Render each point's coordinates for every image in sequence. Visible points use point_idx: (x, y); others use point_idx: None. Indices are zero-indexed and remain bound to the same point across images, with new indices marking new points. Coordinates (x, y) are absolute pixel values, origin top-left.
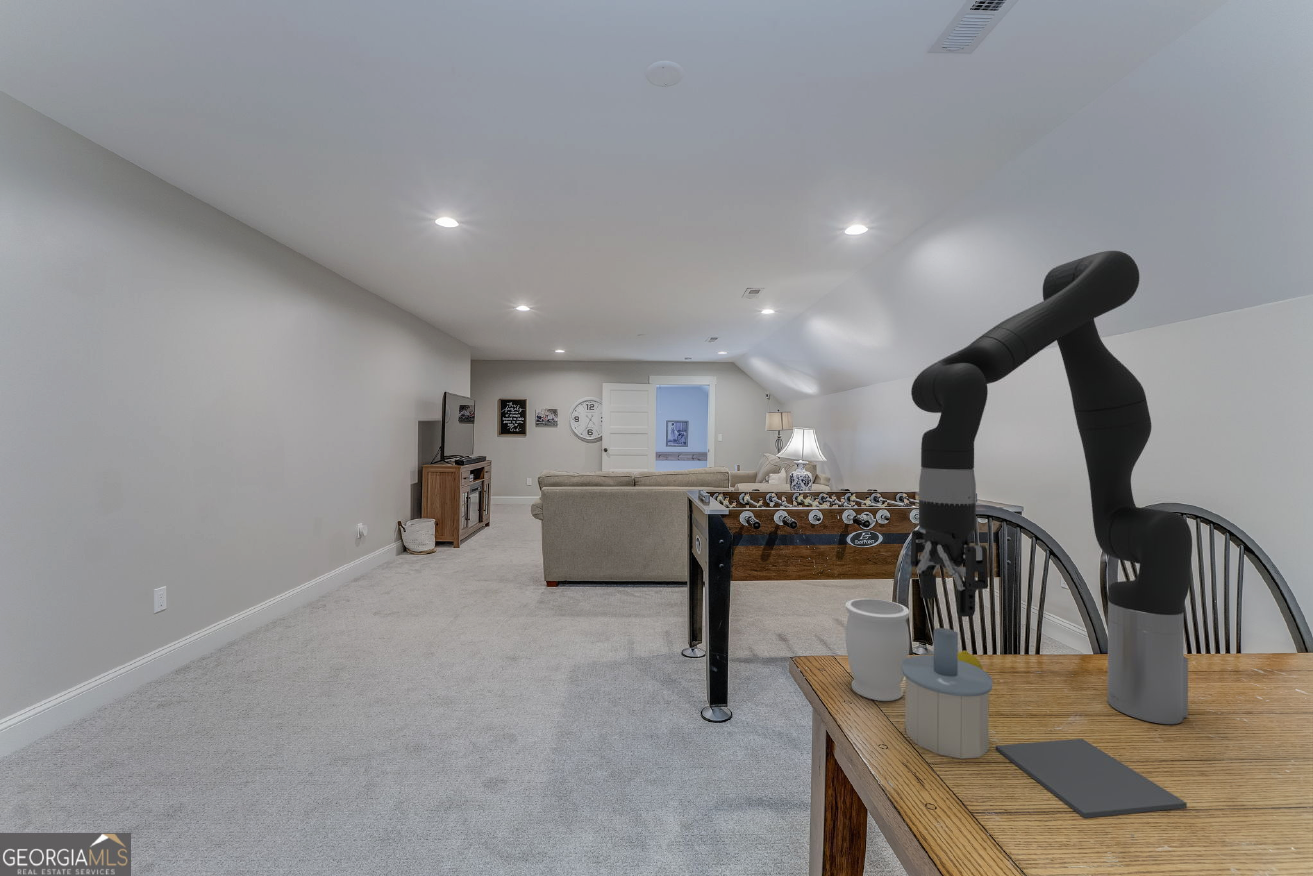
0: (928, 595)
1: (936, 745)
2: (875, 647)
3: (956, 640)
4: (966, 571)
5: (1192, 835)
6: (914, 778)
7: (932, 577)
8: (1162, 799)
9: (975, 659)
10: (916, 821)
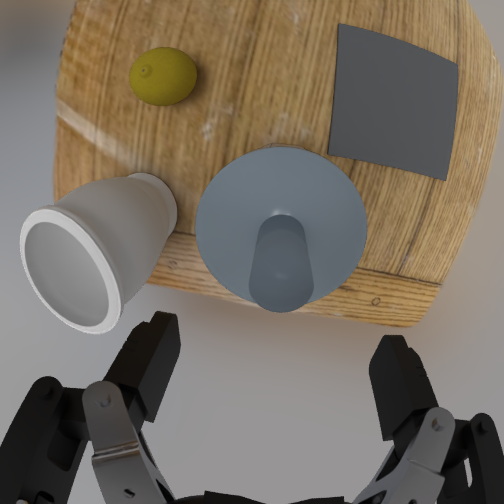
0: (176, 342)
1: None
2: (146, 280)
3: (311, 269)
4: (440, 499)
5: (478, 110)
6: (340, 290)
7: (146, 390)
8: (451, 79)
9: (165, 59)
10: (382, 321)
